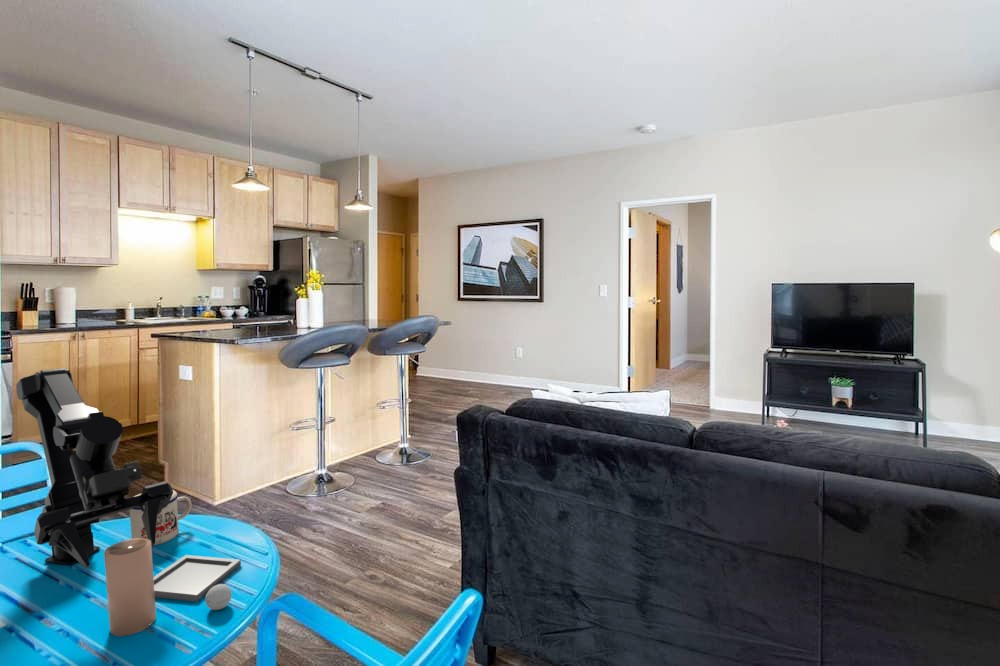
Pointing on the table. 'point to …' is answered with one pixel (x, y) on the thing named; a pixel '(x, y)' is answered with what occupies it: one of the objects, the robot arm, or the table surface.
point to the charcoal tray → (192, 577)
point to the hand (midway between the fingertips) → (121, 555)
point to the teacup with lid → (160, 520)
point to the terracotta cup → (130, 586)
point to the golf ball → (218, 597)
